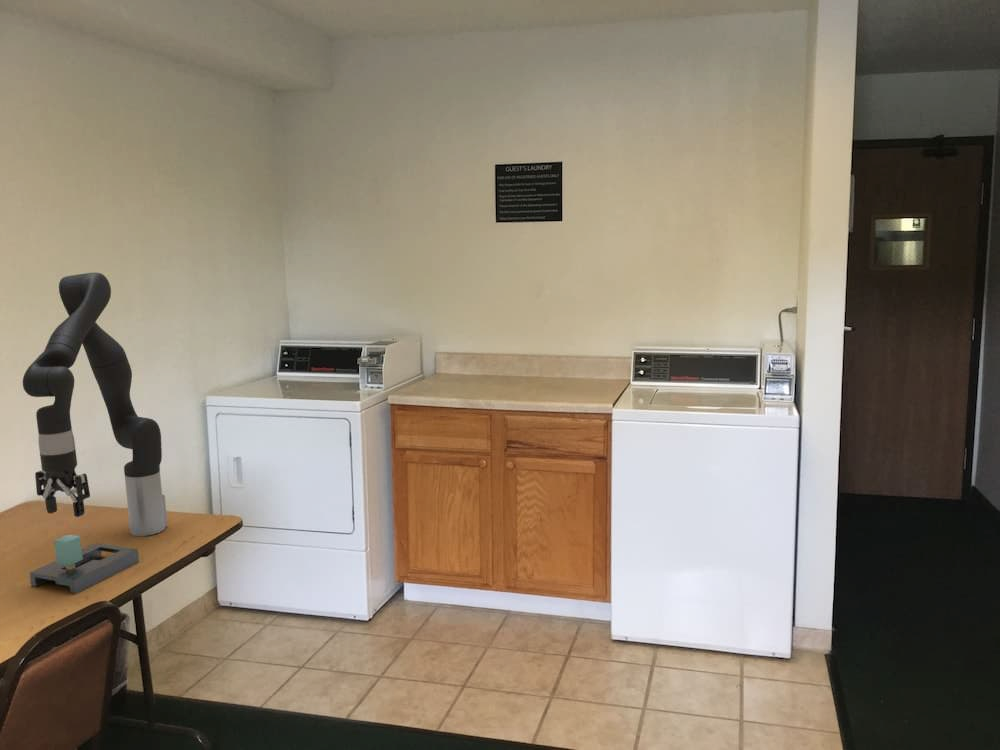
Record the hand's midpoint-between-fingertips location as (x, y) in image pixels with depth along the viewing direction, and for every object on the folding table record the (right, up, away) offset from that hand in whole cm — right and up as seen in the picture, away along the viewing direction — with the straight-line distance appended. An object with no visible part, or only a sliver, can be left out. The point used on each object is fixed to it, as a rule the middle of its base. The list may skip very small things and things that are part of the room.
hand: (65, 514), depth 198 cm
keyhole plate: (+2, -16, +7) cm, 18 cm away
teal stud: (0, -17, +3) cm, 17 cm away
